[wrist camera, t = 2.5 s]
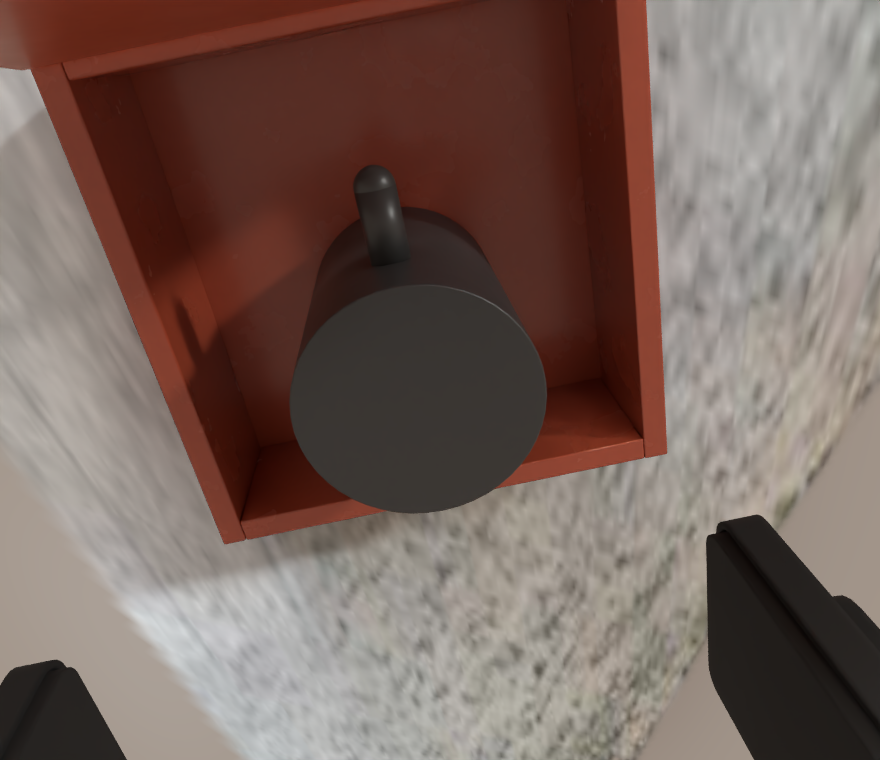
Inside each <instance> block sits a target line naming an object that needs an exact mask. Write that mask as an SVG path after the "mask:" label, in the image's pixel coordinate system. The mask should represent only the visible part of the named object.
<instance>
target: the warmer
mask: <svg viewBox="0 0 880 760" xmlns="http://www.w3.org/2000/svg"><path fill="white" fill-rule="evenodd" d="M31 72H32V74H33V76H34V79H35V81H36V84H37V86H38V89H39V91H40V94H41V96H42V98H43V101H44V103H45V106H46V108H47V111H48V113H49V116H50V118H51V121H52V123H53V125H54V128H55V130H56V133H57V135H58V138H59V140H60V143H61V145H62V148H63V150H64V152H65V155H66V157H67V160H68V162H69V165H70V167H71V170H72V172H73V175H74V177H75V179H76V182H77V184H78V187H79V189H80V192H81V194H82V197H83V199H84V201H85V204H86V206H87V209H88V211H89V214H90V216H91V219H92V221H93V224H94V226H95V228H96V231H97V233H98V236H99V238H100V241H101V243H102V246H103V248H104V251H105V253H106V255H107V258H108V260H109V263H110V265H111V268H112V270H113V273H114V275H115V277H116V280H117V282H118V285H119V287H120V290H121V292H122V295H123V297H124V300H125V302H126V304H127V307H128V309H129V312H130V314H131V317H132V319H133V322H134V324H135V327H136V329H137V331H138V334H139V336H140V339H141V341H142V344H143V346H144V349H145V351H146V354H147V356H148V358H149V361H150V363H151V366H152V368H153V371H154V373H155V376H156V378H157V380H158V383H159V385H160V388H161V390H162V393H163V395H164V398H165V400H166V403H167V405H168V407H169V410H170V412H171V415H172V417H173V420H174V422H175V425H176V427H177V430H178V432H179V434H180V437H181V439H182V442H183V444H184V447H185V449H186V452H187V454H188V457H189V459H190V461H191V464H192V466H193V469H194V471H195V474H196V476H197V479H198V481H199V483H200V486H201V488H202V491H203V493H204V496H205V498H206V501H207V503H208V506H209V508H210V510H211V513H212V515H213V518H214V520H215V523H216V525H217V528H218V530H219V533H220V535H221V537H222V540H223V542H224V544H229V543H234V542H239V541H244V540H246V538H247V539H248V540H249V539H254V538H258V537H263V536H268V535H273V534H278V533H283V532H288V531H292V530H297V529H302V528H307V527H312V526H317V525H322V524H326V523H331V522H336V521H341V520H346V519H351V518H356V517H360V516H365V515H370V514H375V513H380V512H385V511H387V510H381V509H378V508H374V507H371V506H368V505H365V504H363V503H360V502H358V501H356V500H353V499H352V498H350V497H348V496H346V495H345V494H343V493H341V492H339V491H338V490H337V489H335V488H334V487H333V486H331V485H330V484H329V483H328V482H327V481H325V480H324V479H323V478H322V477H321V476H320V475H319V474H318V473H317V472H316V470H315V469H314V468H313V466H312V465H311V464H310V463H309V461H308V460H307V458H306V457H305V455H304V453H303V452H302V450H301V448H300V446H299V444H298V441H297V439H296V436H295V434H294V430H293V426H292V422H291V416H290V405H289V401H290V387H291V382H292V378H293V373H294V369H295V365H296V361H297V357H298V352H299V348H300V344H301V340H302V336H303V332H304V328H305V324H306V320H307V315H308V311H309V307H310V303H311V299H312V295H313V291H314V287H315V283H316V278H317V274H318V270H319V267H320V265H321V262H322V259H323V257H324V255H325V253H326V252H327V250H328V248H329V247H330V245H331V244H332V242H333V241H334V240H335V239H336V237H337V236H338V235H339V234H340V233H341V232H342V231H343V230H344V229H346V228H347V227H348V226H349V225H351V224H352V223H353V222H355V221H357V220H358V219H360V216H359V212H358V208H357V203H356V199H355V195H354V190H353V182H354V179H355V177H356V175H357V173H358V172H359V171H360V170H361V169H362V168H364V167H366V166H368V165H380V166H383V167H385V168H386V169H387V170H389V171H390V172H391V174H392V175H393V177H394V179H395V182H396V186H397V191H398V196H399V200H400V205H401V207H415V208H423V209H427V210H430V211H434V212H437V213H439V214H442V215H444V216H446V217H448V218H450V219H451V220H453V221H455V222H456V223H458V224H459V225H460V226H462V227H463V228H464V229H465V230H466V231H467V232H468V233H469V234H470V235H471V236H472V237H473V238H474V239H475V240H476V242H477V243H478V245H479V246H480V247H481V249H482V251H483V253H484V255H485V256H486V258H487V260H488V262H489V264H490V266H491V267H492V269H493V271H494V273H495V275H496V277H497V278H498V280H499V282H500V284H501V286H502V288H503V289H504V291H505V293H506V295H507V297H508V299H509V300H510V302H511V304H512V306H513V308H514V310H515V311H516V313H517V315H518V317H519V319H520V321H521V322H522V324H523V326H524V328H525V330H526V331H527V333H528V335H529V337H530V339H531V341H532V342H533V344H534V346H535V348H536V350H537V352H538V354H539V357H540V360H541V362H542V365H543V369H544V373H545V378H546V388H547V402H546V412H545V416H544V420H543V425H542V427H541V430H540V433H539V435H538V438H537V440H536V442H535V444H534V446H533V448H532V449H531V451H530V453H529V454H528V456H527V457H526V458H525V460H524V461H523V463H522V464H521V465H520V466H519V467H518V468H517V469H516V471H515V472H514V473H513V474H512V475H511V476H510V477H509V478H507V479H506V480H505V481H504V482H503V483H501V484H500V485H499V486H498V487H496V488H501V487H506V486H511V485H516V484H521V483H526V482H530V481H535V480H540V479H545V478H550V477H555V476H560V475H564V474H569V473H574V472H579V471H584V470H589V469H594V468H598V467H603V466H608V465H613V464H618V463H623V462H628V461H632V460H637V459H642V458H644V457H645V458H648V457H653V456H658V455H663V454H667V438H666V417H665V396H664V374H663V353H662V332H661V310H660V289H659V268H658V246H657V225H656V204H655V182H654V161H653V140H652V118H651V97H650V75H649V54H648V33H647V11H646V0H361V1H356V2H351V3H346V4H342V5H337V6H332V7H327V8H322V9H317V10H312V11H308V12H303V13H298V14H293V15H288V16H283V17H279V18H274V19H269V20H264V21H259V22H254V23H250V24H245V25H240V26H235V27H230V28H225V29H220V30H216V31H211V32H206V33H201V34H196V35H191V36H187V37H182V38H177V39H172V40H167V41H162V42H157V43H153V44H148V45H143V46H138V47H133V48H128V49H124V50H119V51H114V52H109V53H104V54H99V55H94V56H90V57H85V58H80V59H75V60H70V61H65V62H61V63H56V64H51V65H46V66H41V67H36V68H31ZM496 488H495V489H496Z"/></svg>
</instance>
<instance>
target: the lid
mask: <svg viewBox="0 0 880 760" xmlns="http://www.w3.org/2000/svg"><path fill="white" fill-rule="evenodd" d="M356 1H361V0H0V67H1V68H9V69H16V70H27V69H31V68H36V67H41V66H46V65H51V64H56V63H61V62H65V61H70V60H75V59H80V58H85V57H90V56H94V55H99V54H104V53H109V52H114V51H119V50H124V49H128V48H133V47H138V46H143V45H148V44H153V43H157V42H162V41H167V40H172V39H177V38H182V37H187V36H191V35H196V34H201V33H206V32H211V31H216V30H220V29H225V28H230V27H235V26H240V25H245V24H250V23H254V22H259V21H264V20H269V19H274V18H279V17H283V16H288V15H293V14H298V13H303V12H308V11H312V10H317V9H322V8H327V7H332V6H337V5H342V4H346V3H351V2H356Z"/></svg>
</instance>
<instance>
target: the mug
mask: <svg viewBox="0 0 880 760" xmlns="http://www.w3.org/2000/svg"><path fill="white" fill-rule="evenodd" d="M353 190H354V195H355V199H356V203H357V208H358V212H359V216H360V219H358V220H357V221H355V222H353V223H352V224H351V225H349V226H348V227H347V228H346V229H344V230H343V231H342V232H341V233H340V234H339V235H338V236H337V237H336V239H335V240H334V241H333V242H332V244H331V245H330V247H329V248H328V250H327V252H326V253H325V255H324V257H323V259H322V262H321V265H320V267H319V270H318V274H317V278H316V283H315V287H314V291H313V295H312V299H311V303H310V307H309V311H308V315H307V320H306V324H305V328H304V332H303V336H302V340H301V344H300V348H299V352H298V357H297V361H296V365H295V369H294V373H293V378H292V382H291V387H290V401H289V405H290V416H291V422H292V426H293V430H294V434H295V436H296V439H297V441H298V444H299V446H300V448H301V450H302V452H303V453H304V455H305V457H306V458H307V460H308V461H309V463H310V464H311V465H312V466H313V468H314V469H315V470H316V472H317V473H318V474H319V475H320V476H321V477H322V478H323V479H324V480H325V481H327V482H328V483H329V484H330V485H331V486H333V487H334V488H335V489H337V490H338V491H339V492H341V493H343V494H345V495H346V496H348V497H350V498H352V499H353V500H356V501H358V502H360V503H363V504H365V505H368V506H371V507H374V508H378V509H381V510H387V511H392V512H399V513H429V512H436V511H443V510H447V509H451V508H454V507H458V506H461V505H463V504H466V503H469V502H471V501H474V500H476V499H478V498H479V497H481V496H483V495H485V494H487V493H489V492H490V491H492V490H493V489H495V488H496V487H498V486H499V485H500V484H501V483H503V482H504V481H505V480H506V479H507V478H509V477H510V476H511V475H512V474H513V473H514V472H515V471H516V469H517V468H518V467H519V466H520V465H521V464H522V463H523V461H524V460H525V458H526V457H527V456H528V454H529V453H530V451H531V449H532V448H533V446H534V444H535V442H536V440H537V438H538V435H539V433H540V430H541V427H542V425H543V420H544V416H545V412H546V402H547V388H546V378H545V373H544V369H543V365H542V362H541V360H540V357H539V354H538V352H537V350H536V348H535V346H534V344H533V342H532V341H531V339H530V337H529V335H528V333H527V331H526V330H525V328H524V326H523V324H522V322H521V321H520V319H519V317H518V315H517V313H516V311H515V310H514V308H513V306H512V304H511V302H510V300H509V299H508V297H507V295H506V293H505V291H504V289H503V288H502V286H501V284H500V282H499V280H498V278H497V277H496V275H495V273H494V271H493V269H492V267H491V266H490V264H489V262H488V260H487V258H486V256H485V255H484V253H483V251H482V249H481V247H480V246H479V245H478V243H477V242H476V240H475V239H474V238H473V237H472V236H471V235H470V234H469V233H468V232H467V231H466V230H465V229H464V228H463V227H462V226H460V225H459V224H458V223H456V222H455V221H453V220H451V219H450V218H448V217H446V216H444V215H442V214H439V213H437V212H434V211H430V210H427V209H423V208H415V207H401V205H400V200H399V196H398V191H397V186H396V182H395V179H394V177H393V175H392V174H391V172H390V171H389V170H387V169H386V168H385V167H383V166H380V165H368V166H366V167H364V168H362V169H361V170H360V171H359V172H358V173H357V175H356V177H355V179H354V182H353Z"/></svg>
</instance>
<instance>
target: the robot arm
mask: <svg viewBox="0 0 880 760" xmlns="http://www.w3.org/2000/svg"><path fill="white" fill-rule="evenodd" d="M706 554H707V607H708V654H709V655H708V661H709V671H710V675H711V678H712V681H713V684H714V687H715V689H716V691H717V693H718V695H719V697H720V699H721V700H722V702H723V704H724V706H725V708H726V709H727V711H728V713H729V715H730V717H731V719H732V720H733V722H734V724H735V726H736V727H737V729H738V731H739V733H740V735H741V737H742V739H743V740H744V742H745V744H746V746H747V748H748V749H749V751H750V753H751V755H752V757H753V758H754V760H880V629H879V628H878V627H877V626H876V625H875V623H874V622H873V621H872V620H871V619H870V618H869V617H868V616H867V615H866V613H864V611H863V610H862V609H861V608H860V607H859V606H858V605H857V604H856V603H855V602H853V601H852V600H851V599H849V598H847V597H845V596H843V595H842V596H834V597H832V596H831V595H830V594H829V592H828V591H827V590H826V589H825V588H824V587H823V586H822V584H821V583H820V582H819V581H818V580H817V579H816V577H815V576H814V575H813V574H812V573H811V572H810V570H809V569H808V568H807V567H806V566H805V565H804V563H803V562H802V561H801V560H800V559H799V558H798V557H797V555H796V554H795V553H794V552H793V551H792V550H791V548H790V547H789V546H788V545H787V544H786V543H785V541H784V540H783V539H782V538H781V537H780V536H779V535H778V533H777V532H776V531H775V530H774V529H773V528H772V526H771V525H770V524H769V523H768V522H767V521H766V520H765V519H764V518H763V517H762V516H760V515H752V516H748V517H743V518H738V519H733V520H728V521H723V522H720V523H718V526H717V531H716V534H711V535H708V537H707V541H706ZM0 760H127V759H126V757H125V756H124V754H123V752H122V750H121V749H120V747H119V745H118V743H117V741H116V740H115V738H114V736H113V735H112V733H111V731H110V729H109V727H108V726H107V724H106V722H105V720H104V718H103V717H102V715H101V713H100V712H99V710H98V708H97V706H96V704H95V702H94V701H93V699H92V697H91V695H90V694H89V692H88V690H87V688H86V686H85V685H84V683H83V681H82V679H81V678H80V676H79V674H78V672H77V671H76V670H75V669H74V668H72V667H68V668H66V666H65V665H64V664H63V663H62V662H61V661H59V660H50V661H45V662H40V663H36V664H31V665H26V666H21V667H16V668H14V669H13V670H11V671H10V672H9V673H8V674H7V676H6V677H5V678H4V680H3V682H2V683H1V685H0Z"/></svg>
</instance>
